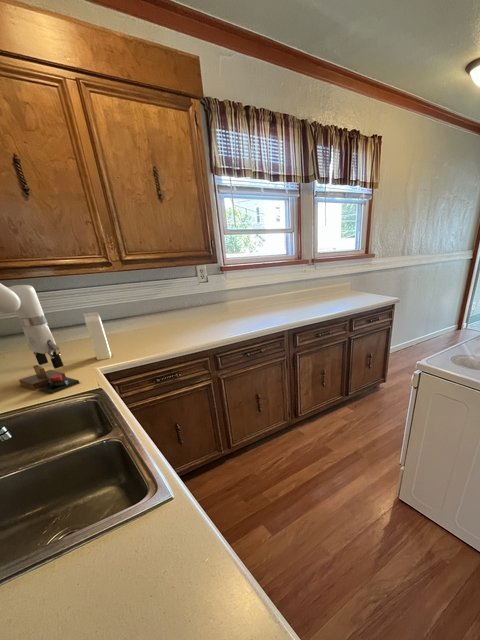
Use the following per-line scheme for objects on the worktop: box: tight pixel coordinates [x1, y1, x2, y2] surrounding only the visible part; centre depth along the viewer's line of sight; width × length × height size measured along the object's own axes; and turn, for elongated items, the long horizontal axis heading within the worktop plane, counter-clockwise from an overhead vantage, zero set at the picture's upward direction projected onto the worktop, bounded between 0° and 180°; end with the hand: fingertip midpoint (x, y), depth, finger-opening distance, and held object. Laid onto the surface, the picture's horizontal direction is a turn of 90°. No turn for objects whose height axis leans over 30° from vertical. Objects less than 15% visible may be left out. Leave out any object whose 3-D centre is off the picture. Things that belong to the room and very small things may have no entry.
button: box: [50, 375, 63, 382], centre depth 128 cm, size 4×4×2 cm
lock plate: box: [18, 369, 67, 391], centre depth 133 cm, size 12×10×3 cm
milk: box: [83, 311, 112, 361], centre depth 156 cm, size 6×6×22 cm
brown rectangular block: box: [32, 364, 47, 378], centre depth 131 cm, size 6×2×4 cm, turn 57°
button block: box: [38, 375, 80, 395], centre depth 129 cm, size 11×8×4 cm
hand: (51, 365), depth 126 cm, fingers open, 9 cm apart
